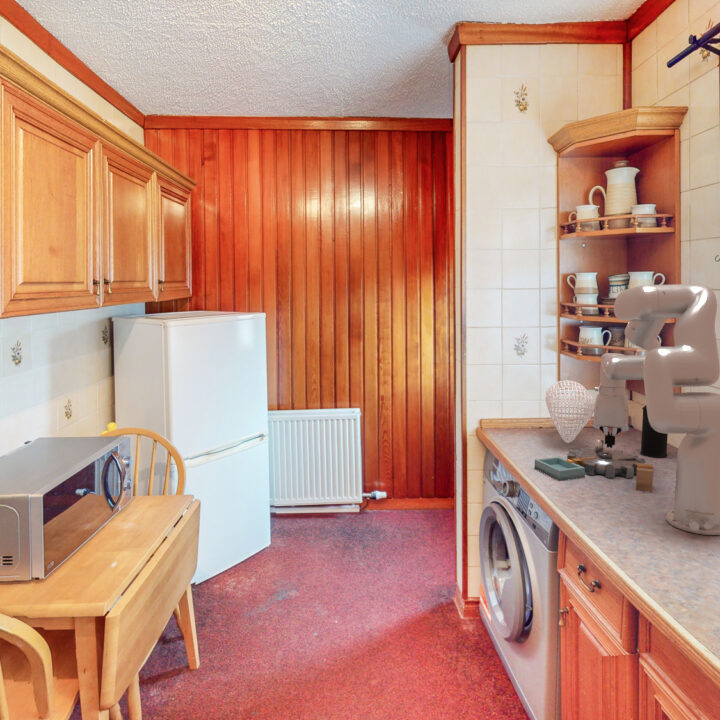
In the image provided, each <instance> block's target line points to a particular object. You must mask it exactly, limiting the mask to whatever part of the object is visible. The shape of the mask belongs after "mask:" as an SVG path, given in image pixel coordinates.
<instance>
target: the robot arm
mask: <svg viewBox="0 0 720 720" xmlns="http://www.w3.org/2000/svg"><path fill="white" fill-rule="evenodd" d="M717 309H718V300H717V296H716V294H715V291H713V289H712V288H710V287H709V286H708V285H703V284H694V283H690V284H689V283H688V284H687V283H683V284H682V283H681V284H678V283H677V284H676V283H674V284H645V285H643V284H642V285H637V286H634V287H630V288H627V289H624V290H622V291H621V292H619V294H618V295H617V297H615V301H614V303H613V312H614V316H615V317H616V319H617V320H619V321H622V322H628V323H627V325H626V327H625V329H624V335H625V336H624V337H625V338H626V340H627V341H628V342H630V343H631V344H633V345H634V346H637V347H638V348H641V349H642V350H646V352H645V353H644V355H639V354H638V355H637V354H636V355H633V354H632V355H631V354H629V355H626V354H623V353H619V352H618V353H617V352H606V353H603V354H602V355H601V358H600V370H599V371H600V373H599V374H600V376H599V378H600V379H599V385H598V386H594V391H595V392H598V394H597V395H596V398H595V400H594V403H595V407H594V413H593V423H592V427H593V428H595V429H597V430H600V431H601V432H602V434H604V444H605V445H606V448H610V449H613V447H614V446H615V445H616V435H618V434H620V432H627V431H629V430H630V428H629V427H630V426H629V410H630V409H629V399H628V395H626V382H627V381H634V380H635V381H636V380H637V381H643V383H644V386H643V387H644V393H645V394H644V395H645V396H644V397H645V403H646V404H645V405H646V406H647V415H648V420H649V423H650V425H651V427H652V428H653V429H654V430H655V431H657V432H659V433H666V434H668V435H669V434H674V435H675V434H681V435H683V434H685V435H684V437H683V439H682V440H681V441H680V444H678V445H679V446H678V448H677V453H676V454H677V456H676V472H675V487H674V488H675V490H674V491H675V492H674V509H673V510H670V511H668V512H667V513H666V518H665V519H666V521H667V522H668V524H670V525H671V526H673V527H675V528H677V529H679V530H681V531H685V532H689V533H693V534H698V535H702V536H703V535H706V536H720V393H716V392H711V391H710V392H709V391H707V392H706V391H692V392H691V391H687V392H674V388H691V387H692V388H695V387H708V386H709V387H710V386H712V385H714V384H716V383H717V382H718V380H719V378H720V358H719V350H718V342H717V335H716V316H717V312H718V311H717ZM668 319H678V320H677V321H676V323H675V325H674V327H673V341H674V346H662V345H661V343H660V341H659V339H658V336H659V335H660V333H661V331H662V329H663V327H664V326H665V323H666V322H667V320H668ZM609 428H612V432H611V433H610V431H609Z"/></svg>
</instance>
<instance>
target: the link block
mask: <svg viewBox="0 0 720 720" xmlns="http://www.w3.org/2000/svg"><path fill="white" fill-rule="evenodd" d="M635 477H636V480H635V481H636V482H635V490H636V491H638V490H642V491H641V492H645V491H649V492H648V493H653V481H654V465H653V464H651V463H645V464H644V463H637V474H636V476H635Z"/></svg>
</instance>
